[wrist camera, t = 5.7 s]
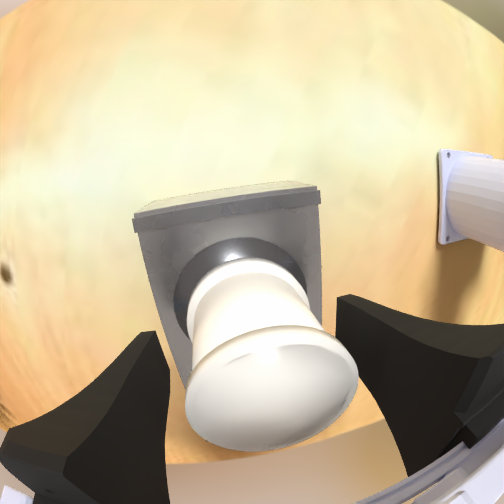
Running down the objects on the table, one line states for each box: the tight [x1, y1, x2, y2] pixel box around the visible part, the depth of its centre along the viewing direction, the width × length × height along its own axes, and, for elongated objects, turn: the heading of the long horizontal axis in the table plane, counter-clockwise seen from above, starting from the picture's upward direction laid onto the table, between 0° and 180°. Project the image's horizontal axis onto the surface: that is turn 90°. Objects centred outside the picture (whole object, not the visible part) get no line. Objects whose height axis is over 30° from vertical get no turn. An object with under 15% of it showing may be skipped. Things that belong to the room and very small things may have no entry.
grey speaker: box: [132, 181, 322, 441], centre depth 16 cm, size 8×16×5 cm, turn 7°
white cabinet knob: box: [185, 257, 359, 452], centre depth 10 cm, size 6×6×6 cm
